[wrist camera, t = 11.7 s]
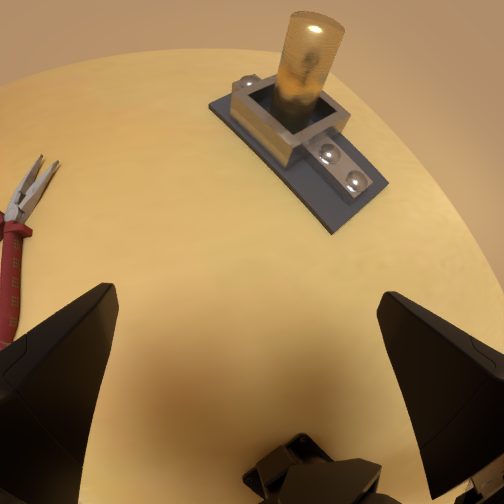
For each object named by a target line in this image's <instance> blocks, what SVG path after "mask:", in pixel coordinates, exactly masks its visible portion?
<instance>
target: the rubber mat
mask: <svg viewBox="0 0 504 504" xmlns="http://www.w3.org/2000/svg"><path fill="white" fill-rule="evenodd" d="M231 96H232V93H231V94H228V95H226V96H224V97H222V98H220V99H218V100H216V101H214V102H212V103H209V109H210V110H211V111H213V112H214V113H215V114H216V115H217V116H218V117H219V118H220V119H221V120H222V121H223V122H224V123H225V124H226V125H227V126H228V127H229V128H230V129H232V130H233V131H234V132H235V133H236V134H237V135H238V136H239V137H240V138H241V139H242V140H243V141H244V142H245V143H246V144H247V145H248V146H249V147H250V148H251V149H252V150H253V151H254V152H255V153H256V154H257V155H258V156H259V157H260V158H261V159H262V160H263V161H264V162H265V163H266V164H267V165H268V166H269V167H270V168H271V169H272V170H273V172H274V173H275V174H276V175H277V176H278V177H279V178H280V179H281V180H282V181H283V182H284V183H285V184H286V185H287V186H288V187H289V188H290V189H291V190H292V192H293V193H294V194H295V195H296V196H297V197H298V198H299V199H300V200H301V201H302V202H303V203H304V205H305V206H306V207H307V208H308V209H309V210H310V211H311V212H312V213H313V215H314V216H315V217H316V218H317V219H318V220H319V221H320V222H321V223H322V225H323V226H324V227H325V228H326V229H327V230H328V231H329V233H330V234H331V235H332V234H333V233H334V232H335V231H336V230H337V229H339V228H340V227H341V226H342V225H343V224H344V223H345V222H347V221H348V220H349V219H350V218H351V217H352V216H353V215H355V214H356V213H357V212H358V211H359V210H360V209H361V208H362V207H364V206H365V205H366V204H367V203H368V202H369V201H370V200H371V199H372V198H374V197H375V196H376V195H377V194H378V193H379V192H380V191H381V190H382V189H384V188H385V187H386V186H387V185H388V184H389V182H388V181H387V180H386V179H385V178H384V177H383V176H382V175H381V173H380V172H379V171H378V170H377V169H376V168H375V167H374V166H373V165H372V164H371V163H370V162H369V161H368V160H367V159H366V158H365V157H364V156H363V155H362V154H361V153H360V152H359V151H358V150H357V149H356V148H355V147H354V146H353V145H352V144H351V143H350V142H349V141H348V140H347V139H346V138H345V137H344V136H343V135H342V134H340V136H339V137H337V138H336V139H334V140H333V141H334V142H335V143H336V144H337V145H338V146H339V147H340V148H341V149H342V150H343V151H344V152H345V153H346V154H347V155H348V156H349V157H350V158H351V159H352V160H353V161H354V162H355V163H356V164H357V165H358V166H359V167H360V169H361V170H362V171H363V172H364V173H365V174H366V175H367V176H368V177H369V178H370V179H371V180H372V181H373V183H372V184H371V185H370V186H369V187H368V188H367V189H366V190H365V191H364V192H363V193H362V194H361V195H359V196H358V197H357V198H356V199H355V200H354V201H352V202H351V203H350V204H349V205H347V204H346V203H345V202H344V201H343V200H342V199H341V198H340V197H339V195H338V194H337V193H336V192H335V191H334V190H333V189H332V188H331V187H330V186H329V185H328V184H327V183H326V181H325V180H324V179H323V178H322V177H321V176H320V175H319V174H318V173H317V172H316V171H315V170H314V169H313V168H312V167H311V166H310V165H309V164H308V163H307V162H306V161H305V160H304V159H302V160H301V161H299V162H298V163H296V164H294V165H293V166H291V167H290V168H288V169H287V170H285V171H284V170H283V169H282V168H281V167H280V166H279V165H278V164H277V163H276V162H275V161H274V160H273V159H272V158H271V157H270V156H269V155H268V154H267V153H266V152H265V151H264V150H263V149H262V148H261V147H260V146H259V145H258V144H257V143H256V142H255V141H254V140H253V139H252V138H251V137H250V136H248V135H247V134H246V133H245V132H244V131H243V130H242V129H241V128H240V127H239V126H238V125H237V124H236V123H235V122H234V121H233V120H232V119H231V118H230V109H231ZM269 108H270V107H268V108H266V109H264V110H266V111H267V112H268V113H269ZM313 124H315V123H314V122H313V121H312V120H311V119H310V121H309V124H308V126H307V127H309V126H311V125H313Z"/></svg>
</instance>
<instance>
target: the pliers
mask: <svg viewBox="0 0 504 504" xmlns="http://www.w3.org/2000/svg"><path fill="white" fill-rule="evenodd" d="M42 158H43V155H42V154H41V155H40V157H39V158H38V159H37V160H36V162H35V163H34V164H33V166H32V167H31V169H30V170H29V171H28V173H27V174H26V175H25V177H24V178H23V180H22V181H21V183H20V184H19V185H18V187H17V188H16V190H15V192H14V194H13V196H12V198H11V200H10V202H9V205H8V207H7V210H6V213H5V214H4V213H2V212H1V211H0V241H1V240H2V239H3V247H2V259H1V274H0V351H1V350H2V349H4V348H6V347H7V346H8V345H10V344H11V343H12V340H13V337H14V334H15V331H16V328H17V324H18V319H19V306H20V266H21V250H22V239H23V238H26V237H31V236H32V229H30V228H29V227H27V226H26V225H24V223H25V221H26V220H27V218H28V217H29V215H30V214H31V212H32V211H33V209H34V207H35V206H36V204H37V202H38V200H39V198H40V196H41V194H42V192H43V190H44V189H45V187H46V185H47V183H48V181H49V179H50V177H51V176H52V174H53V172H54V170H55V168H56V167H57V165H58V163H59V161H58V160H57V161H56V162H55V163H54V164H53V165H51V166H50V167H49V168H48V169H47V170H46V171H45V172H44V173H43V174H42V175H41V176H40V177H39V178H38V179H37V180H36V181H35V182H34V180H35V177H36V174H37V171H38V169H39V166H40V163H41V160H42Z"/></svg>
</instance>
